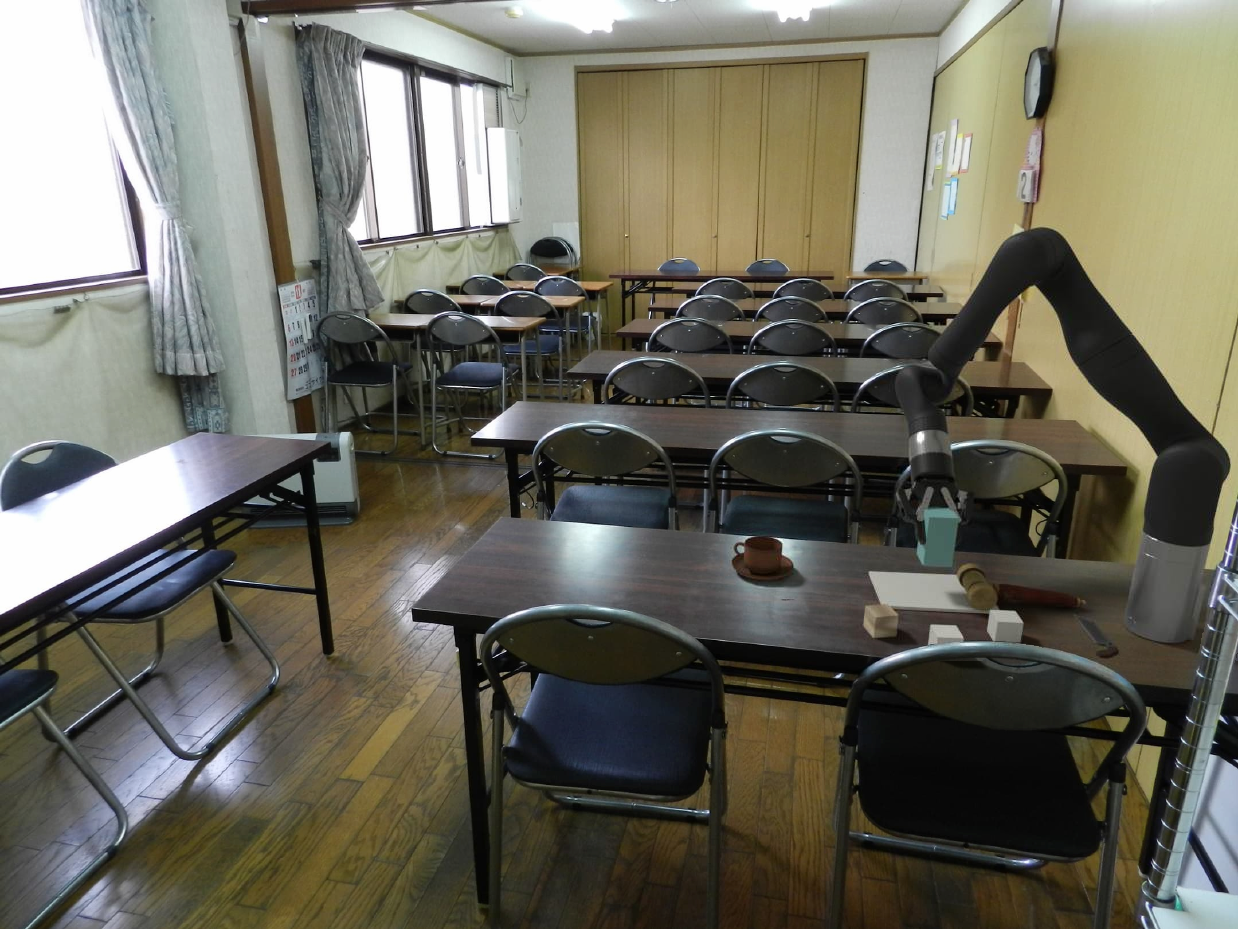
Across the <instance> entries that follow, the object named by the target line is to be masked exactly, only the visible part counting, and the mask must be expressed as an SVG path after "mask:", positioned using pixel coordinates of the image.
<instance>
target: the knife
mask: <svg viewBox="0 0 1238 929" xmlns="http://www.w3.org/2000/svg"><path fill="white" fill-rule="evenodd" d="M1072 616H1073V617H1074V619H1075V620H1076V621H1077V622H1078V623H1079V624H1080V626H1081V627H1082V628H1083V630H1084V631H1085V632H1086V633H1087V635H1088V637H1089V638H1090V639H1091V641H1093V642H1094V644H1096V645H1097V646H1098V645H1099V646H1105V647H1107V649H1100V650H1096V653H1095V655H1096V657H1098V658H1103V659H1106V658H1107V659H1108V658H1111V657H1113V656H1115V655H1117V653H1118V648H1117V646H1116V645H1115V643H1113V641H1111V640H1110V639H1109V638H1108V637H1107V636H1106V633H1104V632H1103V630H1102V629H1101V628H1100V627H1099V626H1098V624H1097V623H1096V622H1095V621H1092V620H1090V619H1087V618H1085V617H1082V616H1080V615H1077V614H1072Z"/></svg>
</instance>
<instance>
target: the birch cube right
mask: <svg viewBox="0 0 1238 929" xmlns="http://www.w3.org/2000/svg"><path fill="white" fill-rule="evenodd" d="M864 606H865V607H864V614H863V617H864V618H863V628H864V629H865V630H866V631H867V633H868V634H869V635H870V636H871V638H873V639H878V638H880V639H881V638H890V637H891V638H892V637H897V633H898V623H899V614H898V613H897V612H896V611H895V609H892V608H891V607H890V606H889V605H888V604H881V603H879V604H871V605H870V604H869V605H864Z"/></svg>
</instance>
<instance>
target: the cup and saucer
mask: <svg viewBox="0 0 1238 929" xmlns="http://www.w3.org/2000/svg"><path fill="white" fill-rule="evenodd" d="M739 546H742V547H743V549H744V550H743V552H740V551H739V550H738V547H739ZM783 546H784V545H783V543H782V541H780V540H779V539H778V538H776V537H772V536H768V535H767V536H766V535H764V536H763V535H756V536H752V537H749V538H747V539H745V541H744V542H742V541H738V542H736V543H735V544H734V546H733V551H734V553H735V554H736V555H734V556H733V558H732V559H731V566H732V568H733V569H734V570H735V571H736V572H737V573H738V574H740V575H741V576H743V577H745V578H748V579H750V580H757V581H775V580H780V579H782V578H785V577H787V576H788V575H790V574H791V573H792V572H793V570H794V567H795V566H794V561H792V560H791V559H790V558H789V557H788V556H785V555H783V548H784V547H783Z"/></svg>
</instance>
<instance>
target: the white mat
mask: <svg viewBox="0 0 1238 929" xmlns="http://www.w3.org/2000/svg"><path fill="white" fill-rule="evenodd" d="M868 576H869V578H870V580H871V583H872V586H873V588H874V591H875V594H876V595H877V598H878V600H879V604H888V605H889V606H890V607H891V608H892V609H893V610H902V611H903V610H904V611H927V612H944V613H946V612H948V613H967V614H969V613H970V614H988V615H989V614H990V610H1000V608H999V606H998V605H997V603H996V604H995V606H994V607H992V608H991V609H989V610H984V611H981V610H977V609H975V608H974V607H973V606H972V605H971V604H970V602H969V600H968V597H967V592H966V590H965V588H964V587H962V586H961V584H960V582H959V580H958V578H957V574H939V573H920V572H917V573H916V572H913V573H912V572H897V571H896V572H893V571H891V572H890V571H871V570H870V571H868Z"/></svg>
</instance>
